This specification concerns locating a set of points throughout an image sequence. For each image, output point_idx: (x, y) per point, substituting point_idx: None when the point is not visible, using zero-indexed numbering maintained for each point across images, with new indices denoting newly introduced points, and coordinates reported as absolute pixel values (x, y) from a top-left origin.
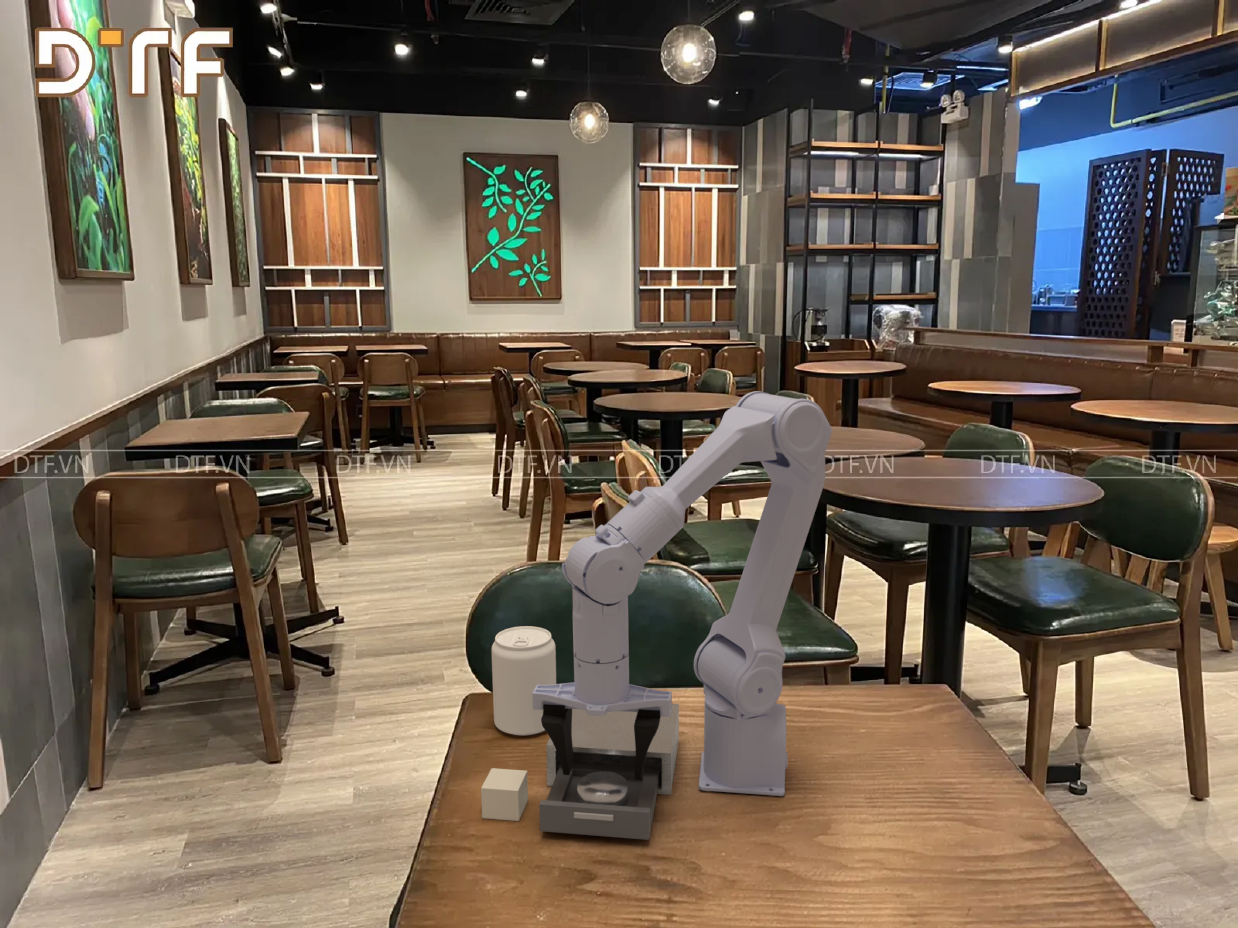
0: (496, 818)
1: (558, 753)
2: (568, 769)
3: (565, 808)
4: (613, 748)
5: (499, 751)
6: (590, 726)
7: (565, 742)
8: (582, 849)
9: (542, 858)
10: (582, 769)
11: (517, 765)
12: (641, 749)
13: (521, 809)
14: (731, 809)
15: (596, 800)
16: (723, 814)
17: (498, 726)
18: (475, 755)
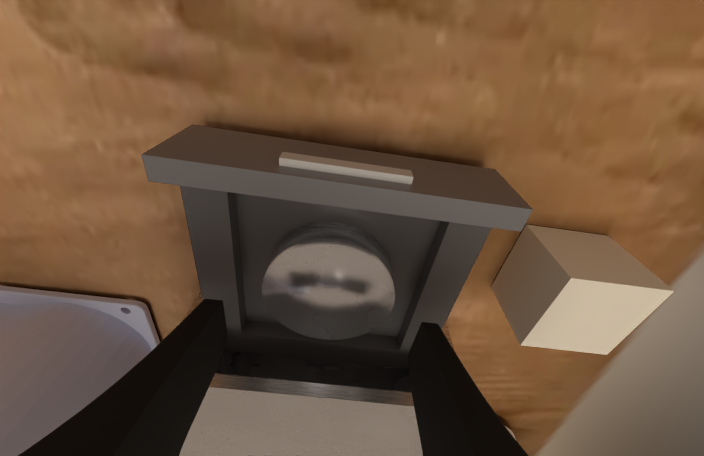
0: (577, 233)
1: (480, 395)
2: (428, 337)
3: (442, 194)
4: (301, 398)
5: (515, 391)
6: (361, 449)
7: (467, 448)
8: (379, 112)
9: (495, 71)
10: (378, 348)
11: (491, 365)
12: (113, 408)
13: (520, 253)
14: (60, 250)
15: (341, 244)
16: (69, 235)
17: (512, 434)
18: (559, 385)
